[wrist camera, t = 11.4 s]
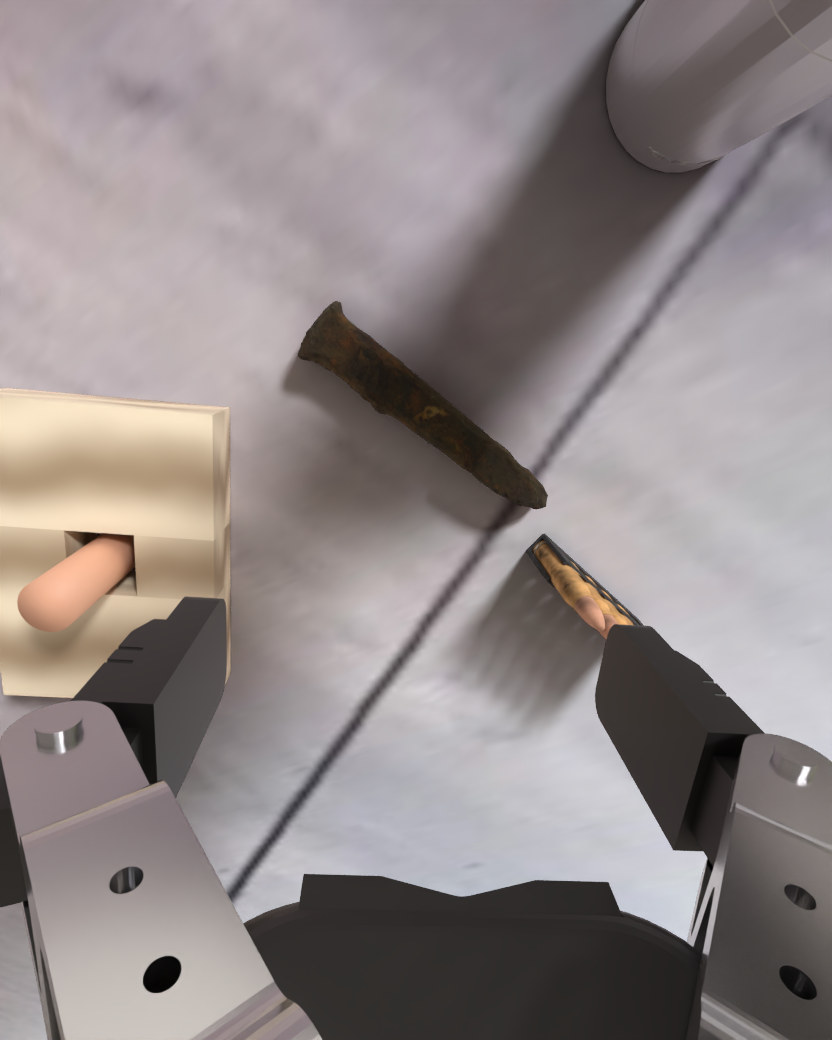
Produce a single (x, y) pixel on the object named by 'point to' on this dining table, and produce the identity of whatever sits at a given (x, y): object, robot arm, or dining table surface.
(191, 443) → the hole block
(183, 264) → the dining table surface
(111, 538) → the peg
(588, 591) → the ammunition clip
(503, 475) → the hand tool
